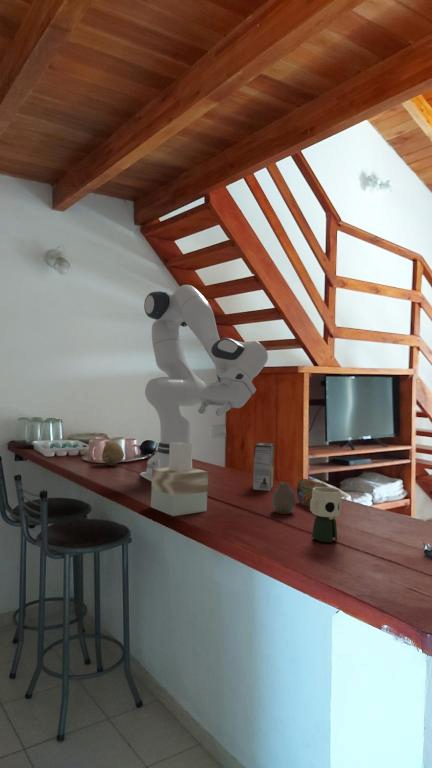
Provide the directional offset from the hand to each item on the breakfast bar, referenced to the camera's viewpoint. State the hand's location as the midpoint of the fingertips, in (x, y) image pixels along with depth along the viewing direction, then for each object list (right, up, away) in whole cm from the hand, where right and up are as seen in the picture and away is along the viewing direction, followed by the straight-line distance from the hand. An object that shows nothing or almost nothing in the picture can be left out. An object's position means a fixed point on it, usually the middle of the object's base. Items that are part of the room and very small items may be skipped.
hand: (208, 413), depth 173 cm
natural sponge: (-42, -26, +64) cm, 81 cm away
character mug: (+30, -31, -33) cm, 54 cm away
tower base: (-9, -29, -6) cm, 31 cm away
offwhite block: (-9, -17, -6) cm, 20 cm away
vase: (+23, -30, -5) cm, 38 cm away
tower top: (-9, -23, -6) cm, 25 cm away
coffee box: (+19, -29, +30) cm, 46 cm away
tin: (+33, -30, +4) cm, 45 cm away
